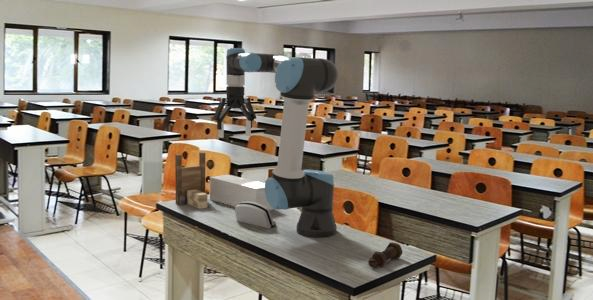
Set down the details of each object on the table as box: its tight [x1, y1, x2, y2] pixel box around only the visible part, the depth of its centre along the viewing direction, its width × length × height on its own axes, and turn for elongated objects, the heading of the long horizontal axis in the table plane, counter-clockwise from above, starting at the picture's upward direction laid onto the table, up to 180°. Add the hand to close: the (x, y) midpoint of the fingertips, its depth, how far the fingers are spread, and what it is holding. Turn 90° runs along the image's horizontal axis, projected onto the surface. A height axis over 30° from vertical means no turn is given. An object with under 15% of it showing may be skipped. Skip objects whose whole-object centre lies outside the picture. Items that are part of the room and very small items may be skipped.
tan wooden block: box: [185, 189, 208, 209], centre depth 240 cm, size 12×4×6 cm, turn 40°
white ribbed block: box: [209, 174, 275, 211], centre depth 244 cm, size 32×11×11 cm, turn 46°
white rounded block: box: [234, 202, 277, 229], centre depth 213 cm, size 17×5×10 cm, turn 55°
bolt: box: [367, 241, 403, 269], centre depth 173 cm, size 6×5×15 cm
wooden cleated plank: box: [174, 151, 206, 206], centre depth 244 cm, size 4×14×22 cm, turn 130°
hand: (234, 136), depth 229 cm, fingers open, 13 cm apart
